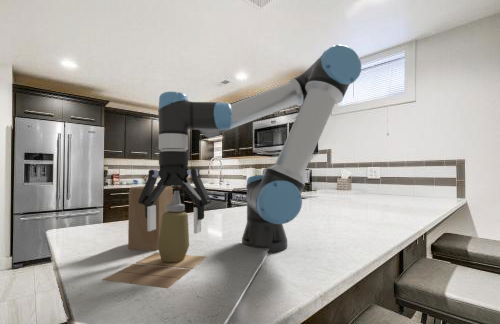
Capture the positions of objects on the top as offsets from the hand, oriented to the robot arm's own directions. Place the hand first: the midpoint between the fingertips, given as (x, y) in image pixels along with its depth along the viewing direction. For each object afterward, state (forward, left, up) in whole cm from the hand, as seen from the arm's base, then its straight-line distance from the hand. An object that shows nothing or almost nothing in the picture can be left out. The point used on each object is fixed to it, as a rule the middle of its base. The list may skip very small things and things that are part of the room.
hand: (174, 231), depth 68 cm
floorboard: (0, +10, -9) cm, 13 cm away
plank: (0, 0, -9) cm, 9 cm away
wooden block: (+14, -10, -9) cm, 20 cm away
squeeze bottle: (0, 0, -7) cm, 8 cm away
